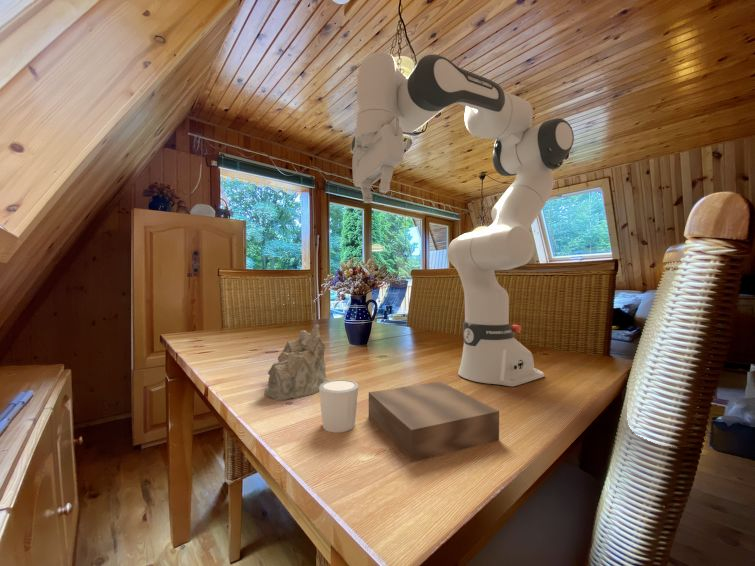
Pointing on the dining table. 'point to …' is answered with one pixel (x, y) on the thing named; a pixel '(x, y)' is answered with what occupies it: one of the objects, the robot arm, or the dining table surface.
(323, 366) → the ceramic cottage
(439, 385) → the walnut block
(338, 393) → the white cup
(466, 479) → the dining table surface
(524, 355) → the robot arm
